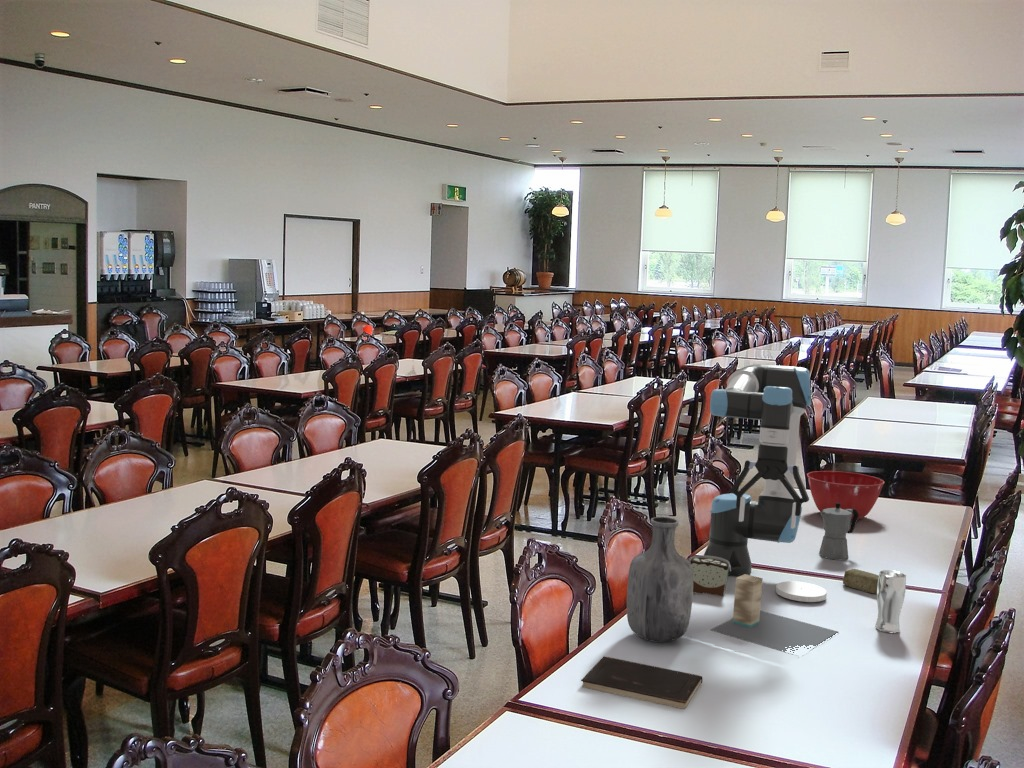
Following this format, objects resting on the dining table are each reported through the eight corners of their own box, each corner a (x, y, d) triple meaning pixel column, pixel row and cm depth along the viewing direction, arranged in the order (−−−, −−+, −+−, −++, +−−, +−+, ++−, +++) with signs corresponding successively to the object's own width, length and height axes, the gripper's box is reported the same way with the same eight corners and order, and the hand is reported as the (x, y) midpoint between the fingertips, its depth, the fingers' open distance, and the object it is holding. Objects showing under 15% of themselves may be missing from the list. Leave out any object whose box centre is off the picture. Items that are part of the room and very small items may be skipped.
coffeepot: (827, 561, 329) (831, 507, 327) (808, 553, 338) (812, 500, 336) (864, 558, 335) (869, 504, 333) (844, 550, 344) (849, 498, 342)
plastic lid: (765, 591, 296) (766, 583, 295) (804, 587, 301) (804, 579, 301) (796, 607, 283) (797, 598, 283) (836, 603, 289) (837, 594, 288)
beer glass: (888, 635, 263) (893, 579, 261) (867, 626, 269) (872, 571, 267) (907, 632, 266) (912, 576, 264) (886, 623, 272) (891, 568, 270)
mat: (709, 631, 259) (709, 629, 259) (752, 610, 278) (753, 608, 278) (798, 658, 244) (798, 656, 244) (838, 633, 263) (838, 631, 263)
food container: (733, 593, 292) (736, 559, 291) (728, 599, 286) (731, 564, 285) (691, 585, 297) (693, 552, 296) (685, 591, 291) (688, 557, 290)
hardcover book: (684, 712, 212) (685, 701, 212) (580, 689, 221) (581, 679, 221) (702, 684, 227) (702, 675, 227) (603, 664, 236) (604, 655, 236)
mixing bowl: (792, 507, 406) (795, 468, 404) (860, 508, 409) (864, 470, 408) (821, 525, 378) (824, 484, 376) (894, 526, 381) (898, 486, 380)
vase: (674, 655, 242) (682, 532, 239) (613, 640, 250) (620, 520, 247) (699, 636, 256) (707, 519, 252) (641, 622, 264) (648, 508, 261)
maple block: (732, 622, 266) (736, 577, 264) (741, 618, 269) (745, 573, 268) (750, 627, 262) (753, 582, 261) (759, 622, 266) (762, 578, 265)
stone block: (876, 596, 296) (877, 579, 296) (840, 586, 305) (841, 569, 304) (886, 592, 300) (887, 576, 299) (850, 582, 308) (852, 566, 308)
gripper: (723, 440, 272) (716, 519, 272) (820, 450, 262) (813, 532, 262) (729, 439, 279) (723, 516, 279) (824, 449, 268) (817, 529, 269)
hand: (766, 524), depth 270 cm, fingers open, 13 cm apart
